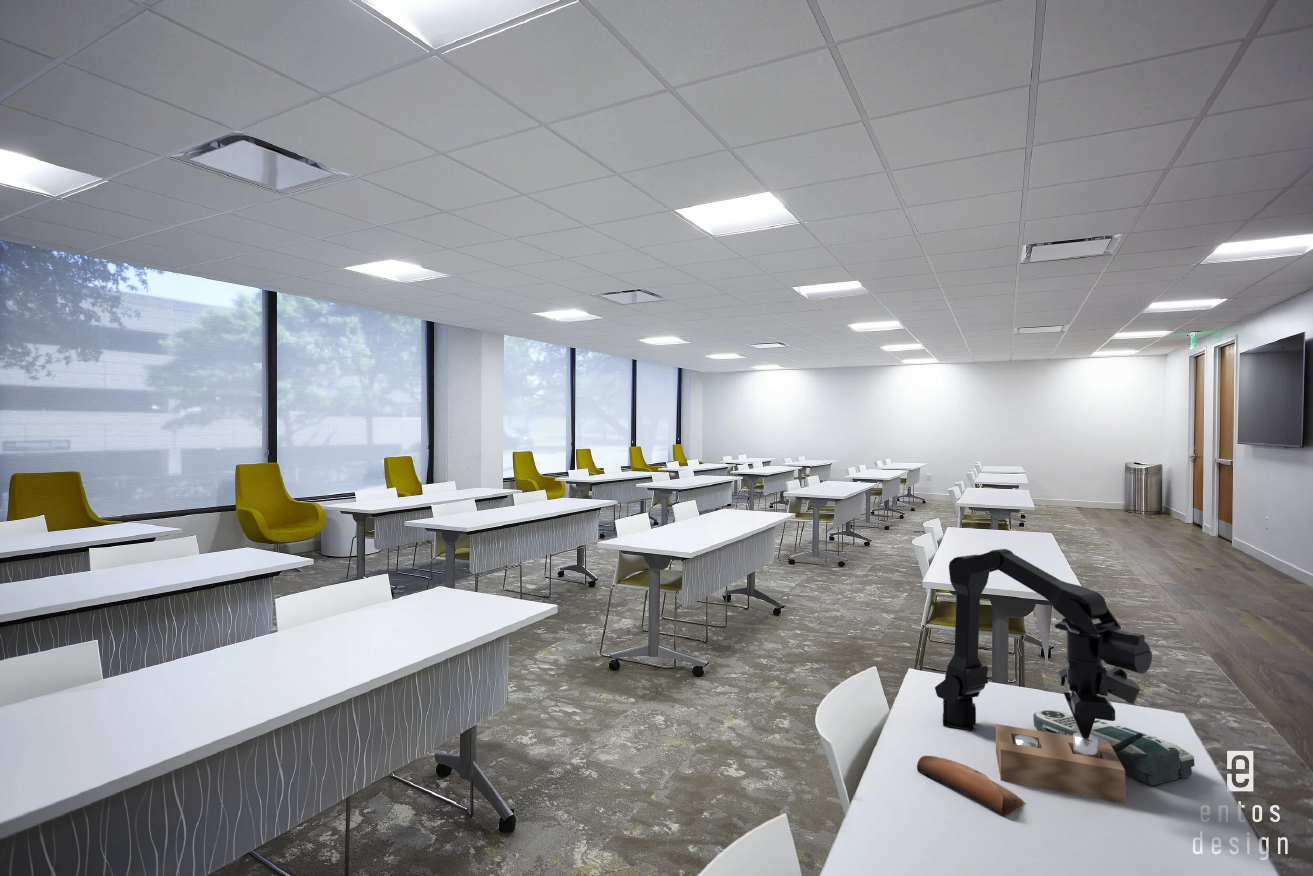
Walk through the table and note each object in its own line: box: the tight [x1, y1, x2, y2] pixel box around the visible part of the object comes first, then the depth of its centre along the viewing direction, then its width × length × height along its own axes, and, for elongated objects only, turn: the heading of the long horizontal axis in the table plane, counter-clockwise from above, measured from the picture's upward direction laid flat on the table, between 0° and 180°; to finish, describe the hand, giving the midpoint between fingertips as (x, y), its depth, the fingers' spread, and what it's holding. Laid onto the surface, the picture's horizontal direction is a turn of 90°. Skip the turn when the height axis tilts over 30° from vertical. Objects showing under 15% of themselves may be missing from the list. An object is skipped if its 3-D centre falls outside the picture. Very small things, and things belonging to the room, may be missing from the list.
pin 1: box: [1015, 735, 1038, 748], centre depth 127 cm, size 4×4×6 cm
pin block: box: [995, 723, 1126, 804], centre depth 125 cm, size 20×12×6 cm, turn 66°
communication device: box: [1032, 709, 1196, 786], centre depth 135 cm, size 14×28×10 cm, turn 18°
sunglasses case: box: [916, 755, 1027, 817], centre depth 121 cm, size 18×7×7 cm
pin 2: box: [1073, 732, 1098, 758], centre depth 123 cm, size 4×4×6 cm
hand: (1085, 737), depth 123 cm, fingers closed, pressing on pin 2
